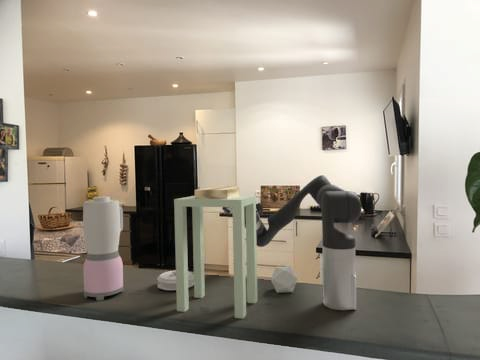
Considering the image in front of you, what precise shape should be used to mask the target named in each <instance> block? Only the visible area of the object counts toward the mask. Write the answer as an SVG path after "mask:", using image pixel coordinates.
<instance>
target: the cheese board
mask: <svg viewBox="0 0 480 360" xmlns="http://www.w3.org/2000/svg"><path fill="white" fill-rule="evenodd" d="M194 196H195V199H229V198H233V197H237V196H240V186H239V185H238V186H237V185H235V186H233V185H231V186H223V187H208V188H207V187H204V188H198V189H197V188H196V189H194Z"/></svg>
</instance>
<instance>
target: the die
mask: <svg viewBox="0 0 480 360" xmlns="http://www.w3.org/2000/svg"><path fill="white" fill-rule="evenodd" d="M270 281H271V284H272V285H273V287H274V289H275V291H276V293H279V294H280V293H283V294H284V293H293V292H294V289H295V287H296V285H297V281H298V277H297V274H296V273H295V271H294V269H293V268H292V266H275V268H274V270H273V273H272V276H271V279H270Z"/></svg>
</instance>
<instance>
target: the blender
mask: <svg viewBox="0 0 480 360" xmlns="http://www.w3.org/2000/svg"><path fill="white" fill-rule="evenodd" d="M82 204H83V205H82V207H83V211H82V214H83V215H82V224H83V228H82V229H83V236H84V242H85V247H86V258H85V261H84V263H83V270H82V272H83V297H84V299H88V297H91V298H95V299H96V301H104V300H105V299H104V298H105V297H107V296H113V295H116V294H118V293H122V294H123V293H124V266H123V265H124V264H123V259H122V258H121V255H120V253H119V245H120V237H121V233H122V231H124V210H123V207H122V205H121V204H120V201H119V200H118V199H111V197H110V196H102V195H101V196H93V197H92V200H86V201H84V202H83V203H82Z"/></svg>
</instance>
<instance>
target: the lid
mask: <svg viewBox="0 0 480 360" xmlns="http://www.w3.org/2000/svg"><path fill="white" fill-rule="evenodd" d="M156 280H157V288H158V289H160V290H164V291H176V270H169V271H165V272H162V273H160V275H158V276H157V278H156ZM192 287H194V273H192V272H191V271H189V270H188V289H189V288H192Z"/></svg>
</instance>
